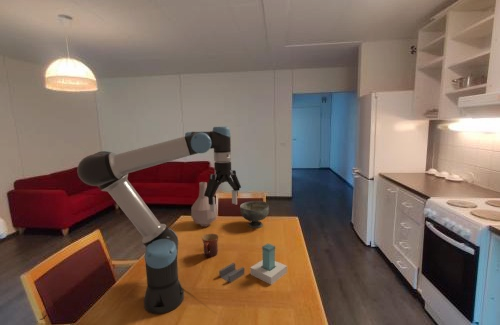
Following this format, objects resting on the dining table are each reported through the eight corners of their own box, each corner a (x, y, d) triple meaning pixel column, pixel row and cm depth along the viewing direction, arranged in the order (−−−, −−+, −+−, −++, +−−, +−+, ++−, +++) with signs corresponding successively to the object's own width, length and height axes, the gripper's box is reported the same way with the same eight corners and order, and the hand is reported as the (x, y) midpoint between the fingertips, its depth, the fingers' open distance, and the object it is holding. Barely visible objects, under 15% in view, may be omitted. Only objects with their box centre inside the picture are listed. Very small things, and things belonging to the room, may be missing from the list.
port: (271, 286, 111) (271, 276, 110) (250, 275, 119) (250, 266, 118) (286, 273, 119) (286, 264, 119) (266, 264, 127) (266, 256, 127)
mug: (206, 250, 143) (205, 233, 141) (221, 251, 141) (220, 234, 140) (197, 261, 131) (196, 242, 130) (213, 263, 130) (213, 244, 128)
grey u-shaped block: (230, 284, 112) (230, 276, 112) (219, 277, 117) (219, 270, 117) (244, 275, 119) (244, 267, 118) (233, 269, 124) (233, 262, 123)
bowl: (239, 221, 185) (239, 201, 183) (266, 219, 188) (265, 199, 185) (241, 232, 166) (241, 210, 164) (271, 230, 168) (271, 208, 166)
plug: (269, 278, 116) (269, 249, 114) (262, 275, 119) (262, 246, 117) (275, 274, 119) (275, 246, 117) (268, 271, 122) (267, 243, 120)
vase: (190, 222, 184) (187, 181, 180) (213, 218, 191) (212, 179, 187) (194, 231, 168) (192, 187, 164) (220, 227, 175) (219, 184, 171)
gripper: (205, 166, 103) (207, 216, 106) (247, 159, 121) (248, 202, 124) (194, 164, 108) (196, 212, 111) (236, 157, 126) (237, 199, 129)
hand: (224, 207), depth 117 cm, fingers open, 13 cm apart
